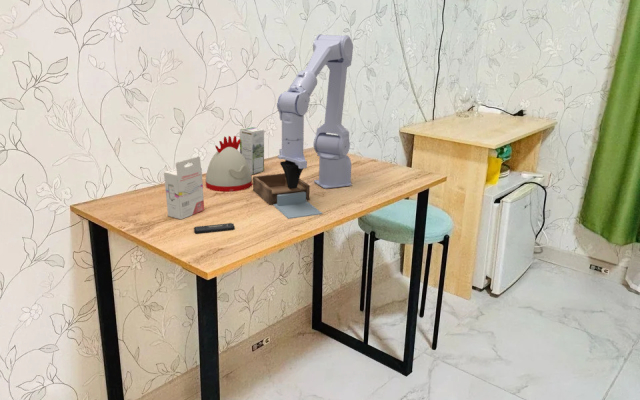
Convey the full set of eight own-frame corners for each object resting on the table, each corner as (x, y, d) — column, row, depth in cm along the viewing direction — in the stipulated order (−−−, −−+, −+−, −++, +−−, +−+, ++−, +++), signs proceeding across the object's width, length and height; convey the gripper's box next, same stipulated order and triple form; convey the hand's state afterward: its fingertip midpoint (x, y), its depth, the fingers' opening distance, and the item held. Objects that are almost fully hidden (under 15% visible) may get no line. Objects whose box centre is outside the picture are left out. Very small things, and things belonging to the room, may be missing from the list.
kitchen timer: (260, 186, 157) (260, 137, 152) (220, 194, 149) (218, 143, 144) (237, 175, 167) (235, 129, 162) (197, 183, 159) (195, 134, 154)
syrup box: (251, 168, 176) (250, 126, 171) (264, 171, 172) (264, 128, 168) (239, 172, 171) (238, 128, 167) (253, 175, 168) (252, 131, 163)
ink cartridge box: (191, 206, 139) (187, 153, 134) (204, 210, 136) (201, 155, 131) (166, 216, 132) (162, 159, 127) (180, 220, 129) (176, 162, 125)
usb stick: (194, 235, 121) (194, 229, 121) (193, 231, 123) (193, 225, 123) (235, 231, 124) (234, 225, 124) (233, 227, 126) (233, 221, 126)
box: (253, 190, 153) (252, 176, 152) (290, 185, 158) (290, 172, 157) (269, 204, 141) (269, 190, 140) (309, 199, 146) (309, 185, 145)
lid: (273, 207, 141) (273, 194, 140) (305, 202, 145) (305, 190, 144) (288, 220, 132) (288, 207, 131) (322, 216, 136) (322, 203, 135)
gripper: (268, 134, 141) (269, 182, 145) (288, 145, 128) (288, 197, 133) (292, 132, 143) (292, 179, 148) (314, 143, 131) (313, 194, 135)
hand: (292, 187), depth 140 cm, fingers closed
